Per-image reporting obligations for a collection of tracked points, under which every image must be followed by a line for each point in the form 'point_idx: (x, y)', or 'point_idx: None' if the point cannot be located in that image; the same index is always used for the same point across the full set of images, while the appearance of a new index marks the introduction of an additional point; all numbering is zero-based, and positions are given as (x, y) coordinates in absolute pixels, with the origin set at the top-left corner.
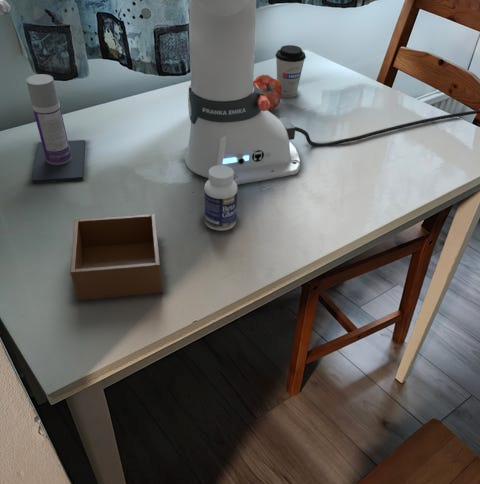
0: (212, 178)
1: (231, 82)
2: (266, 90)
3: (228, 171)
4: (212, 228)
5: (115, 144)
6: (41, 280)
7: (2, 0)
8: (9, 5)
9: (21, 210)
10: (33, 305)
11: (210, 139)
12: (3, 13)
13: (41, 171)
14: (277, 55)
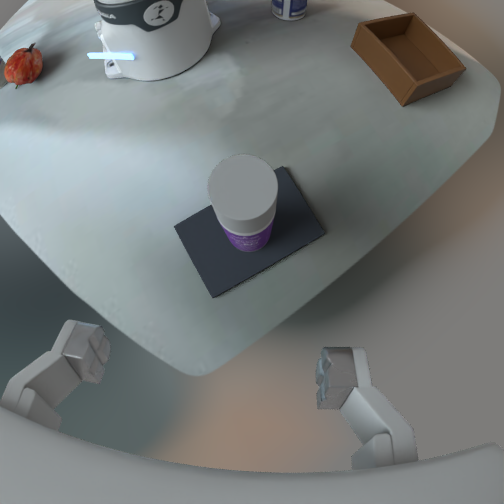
0: None
1: None
2: (32, 51)
3: None
4: (305, 12)
5: (162, 179)
6: (454, 123)
7: (64, 348)
8: (66, 322)
9: (385, 207)
10: (474, 117)
11: (197, 4)
12: (106, 337)
13: (296, 234)
14: None
